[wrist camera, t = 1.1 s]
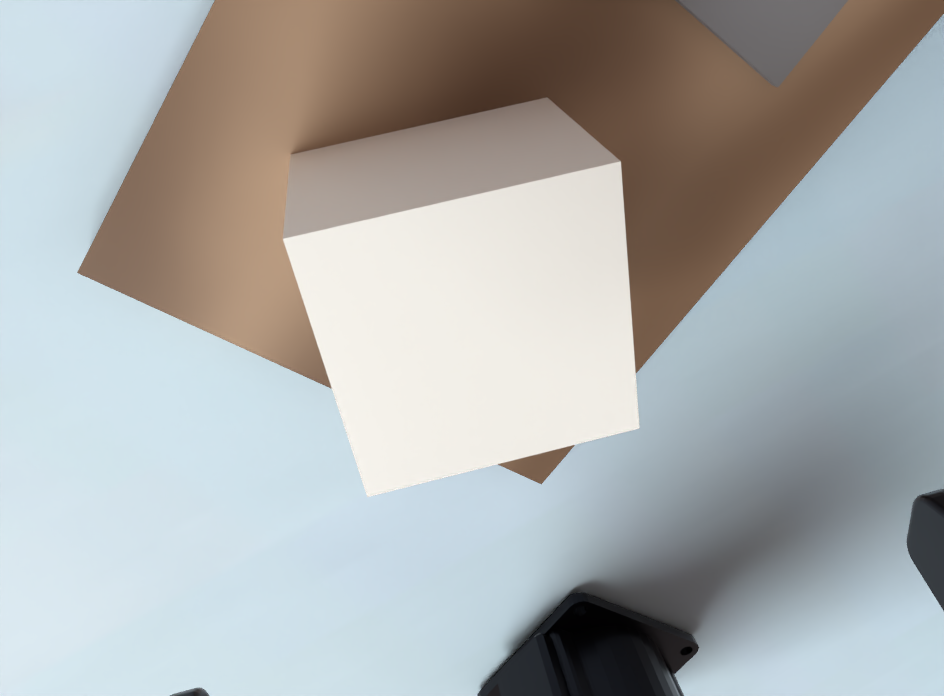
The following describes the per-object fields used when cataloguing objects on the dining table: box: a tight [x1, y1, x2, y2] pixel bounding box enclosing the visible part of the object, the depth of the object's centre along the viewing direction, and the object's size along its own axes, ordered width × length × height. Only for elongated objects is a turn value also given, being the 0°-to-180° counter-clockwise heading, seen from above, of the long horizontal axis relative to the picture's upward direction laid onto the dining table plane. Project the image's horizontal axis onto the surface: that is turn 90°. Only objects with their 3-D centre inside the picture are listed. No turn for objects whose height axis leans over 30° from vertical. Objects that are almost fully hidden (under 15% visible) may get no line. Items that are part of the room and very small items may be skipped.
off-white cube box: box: [283, 97, 639, 497], centre depth 17 cm, size 6×6×5 cm
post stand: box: [77, 0, 944, 484], centre depth 16 cm, size 14×22×4 cm, turn 145°
